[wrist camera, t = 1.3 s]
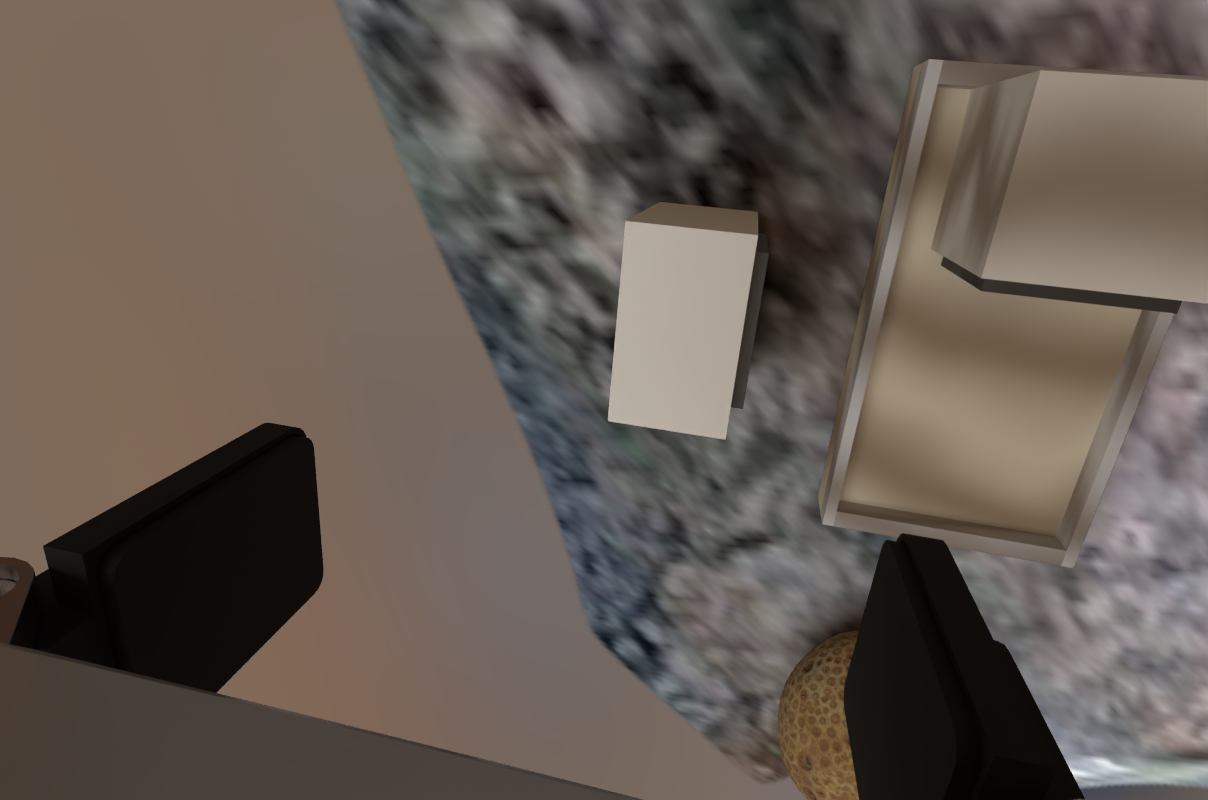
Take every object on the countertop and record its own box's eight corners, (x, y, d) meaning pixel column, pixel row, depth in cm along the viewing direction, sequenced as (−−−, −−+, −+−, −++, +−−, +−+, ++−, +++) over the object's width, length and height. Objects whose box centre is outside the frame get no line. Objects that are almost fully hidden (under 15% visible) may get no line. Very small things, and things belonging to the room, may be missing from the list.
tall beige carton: (769, 212, 31) (773, 237, 22) (743, 369, 33) (738, 441, 25) (660, 202, 31) (625, 221, 23) (643, 355, 34) (607, 421, 26)
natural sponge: (878, 550, 35) (920, 691, 26) (986, 665, 36) (1063, 841, 27) (743, 633, 39) (739, 784, 29) (845, 736, 40) (871, 913, 30)
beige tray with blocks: (913, 67, 28) (975, 35, 20) (1217, 86, 26) (1417, 59, 18) (817, 497, 35) (835, 598, 27) (1049, 536, 33) (1139, 656, 25)
